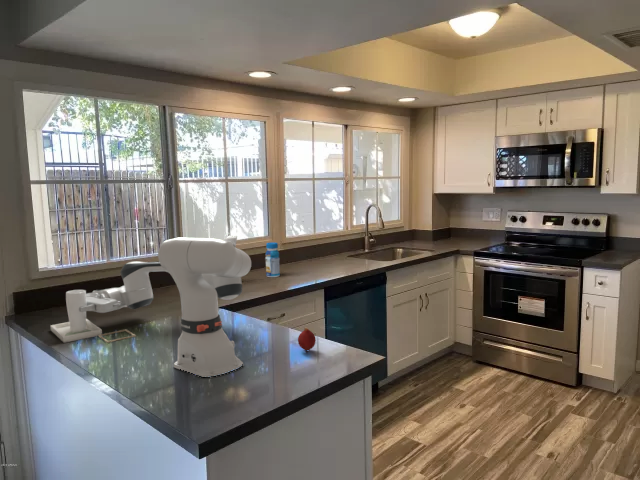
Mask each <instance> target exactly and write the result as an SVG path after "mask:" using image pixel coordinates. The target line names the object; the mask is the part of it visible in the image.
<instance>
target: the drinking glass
mask: <svg viewBox="0 0 640 480" xmlns="http://www.w3.org/2000/svg"><path fill="white" fill-rule="evenodd" d="M86 294H87V290H86V289H73V290H68V291H66V292H65V302H66V310H67V315H68V322H69V324H70V331H71V332H82V331H84V330H86V319H87V311H85V312H80V311H79V307H82V306H87V298H86Z"/></svg>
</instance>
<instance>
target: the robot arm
mask: <svg viewBox="0 0 640 480" xmlns="http://www.w3.org/2000/svg"><path fill="white" fill-rule="evenodd" d="M157 258H158V261H139V260H138V261H136V260H135V261H129V262H127V263H125V264H123V266H122V268H121V269H120V276H121V278H122V281H123V285H122V286H120V287H111V288H105V289H96V290H93V291H92V292H86V298H87V306H82V307H79V311H80V312H85V311H86V312H96V313H100V314H104V313H109V312H112V311H116V310H117V311H118V310H120V309H122V308H129V309H132V310H136V309H140V308H142V307H143V308H144V307H148V306H149V305H151V303H152V302H153V300H154V294H153V289H152V284H151V280H150V276H149V275H150V274H149V273H151V272H153V273H154V272H156V273H157V272H166V273H167V274H170V277H171V278H172V279H173V281H174V282H175V285H176V287H177V289H178V292H179V296H180V304H181V305H180V306H181V317H180V330H181V334H180V336H179V337H178V339H177V360H176V361H175V362H174V363H173V368H175V369H177V370H180V369H181V371H183V370H184V371H183V372H185V371H187V372H186V373H188V372H190V373H189V374H191V373H193V374H196V375H199V376H202V377H205V376H206V377H208V376H214V375H218V374H222V373H225V372H228V371H231V370H233V369H236V368H238V367H240V366H241V365H242V364H243V365H244V362H243V361H242V360H241V359H240V358H239V357H237V355H236V353H235V347H236V344H235V341H234V340H230V339H229V337H228V335H227V334H226V333H225V331H224V329H223V320H222V318H221V317H220V314H219V302H218V299H219V300H226V301H227V300H234V299H235V298H237V297H239V296H240V295H241V294H242V292H243V284H242V277H245V276H246V275H247V274H248V273H249V272H250V270H251V267H252V260H251V257H250V256H249V255H248V253H247V252H245V251H244V250H243V249H240V248H237V247H235V245H234V244H232V243H231V242H229V241H225V240H224V239H221V238H215V237H214V238H213V237H207V238H206V237H181V236H180V237H175V238H170V239H166V240H164V241H162V243H161V245H160V246H159V249H158V253H157ZM193 374H192V375H193ZM196 375H195V376H196ZM199 376H198V377H199Z"/></svg>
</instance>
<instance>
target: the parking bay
mask: <svg viewBox="0 0 640 480" xmlns="http://www.w3.org/2000/svg"><path fill="white" fill-rule="evenodd" d="M122 332H126V333H127V334H129V336H125V337H120V338H116V339H111V340H108V339H106V338H105V337H104V336H109V335H112V334H117V333H122ZM98 337H99V339H101V340H102V341H104V342H105V343H107V344H108V343H113V342H118V341H121V340H125V339H130V338H135V337H137V335H136V334H134V333H133V332H132V331H130V330H128V329H126V328H125V329H121V330H118V331H117V330H115V331H112V332H107V333H102V335H98Z"/></svg>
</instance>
